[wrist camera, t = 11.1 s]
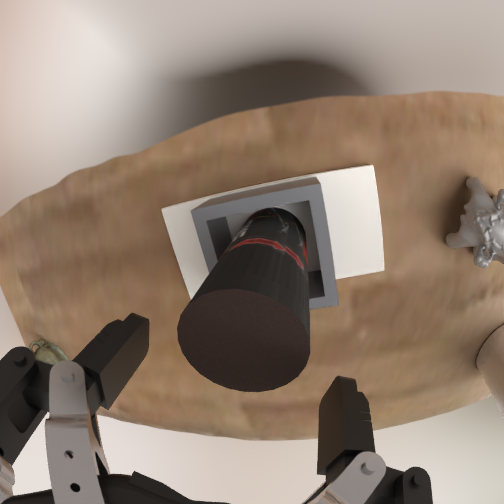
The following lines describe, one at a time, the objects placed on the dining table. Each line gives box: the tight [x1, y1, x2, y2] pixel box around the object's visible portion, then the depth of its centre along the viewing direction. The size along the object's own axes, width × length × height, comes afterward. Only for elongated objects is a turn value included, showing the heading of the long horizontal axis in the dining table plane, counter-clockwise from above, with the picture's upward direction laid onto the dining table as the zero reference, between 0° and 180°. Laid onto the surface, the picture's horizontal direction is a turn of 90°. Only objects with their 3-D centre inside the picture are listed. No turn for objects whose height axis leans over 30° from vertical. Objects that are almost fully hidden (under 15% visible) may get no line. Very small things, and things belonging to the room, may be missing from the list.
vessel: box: [29, 339, 70, 365], centre depth 39 cm, size 12×9×6 cm
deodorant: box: [177, 207, 310, 392], centre depth 19 cm, size 6×6×15 cm
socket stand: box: [161, 165, 385, 310], centre depth 24 cm, size 20×10×6 cm, turn 104°
